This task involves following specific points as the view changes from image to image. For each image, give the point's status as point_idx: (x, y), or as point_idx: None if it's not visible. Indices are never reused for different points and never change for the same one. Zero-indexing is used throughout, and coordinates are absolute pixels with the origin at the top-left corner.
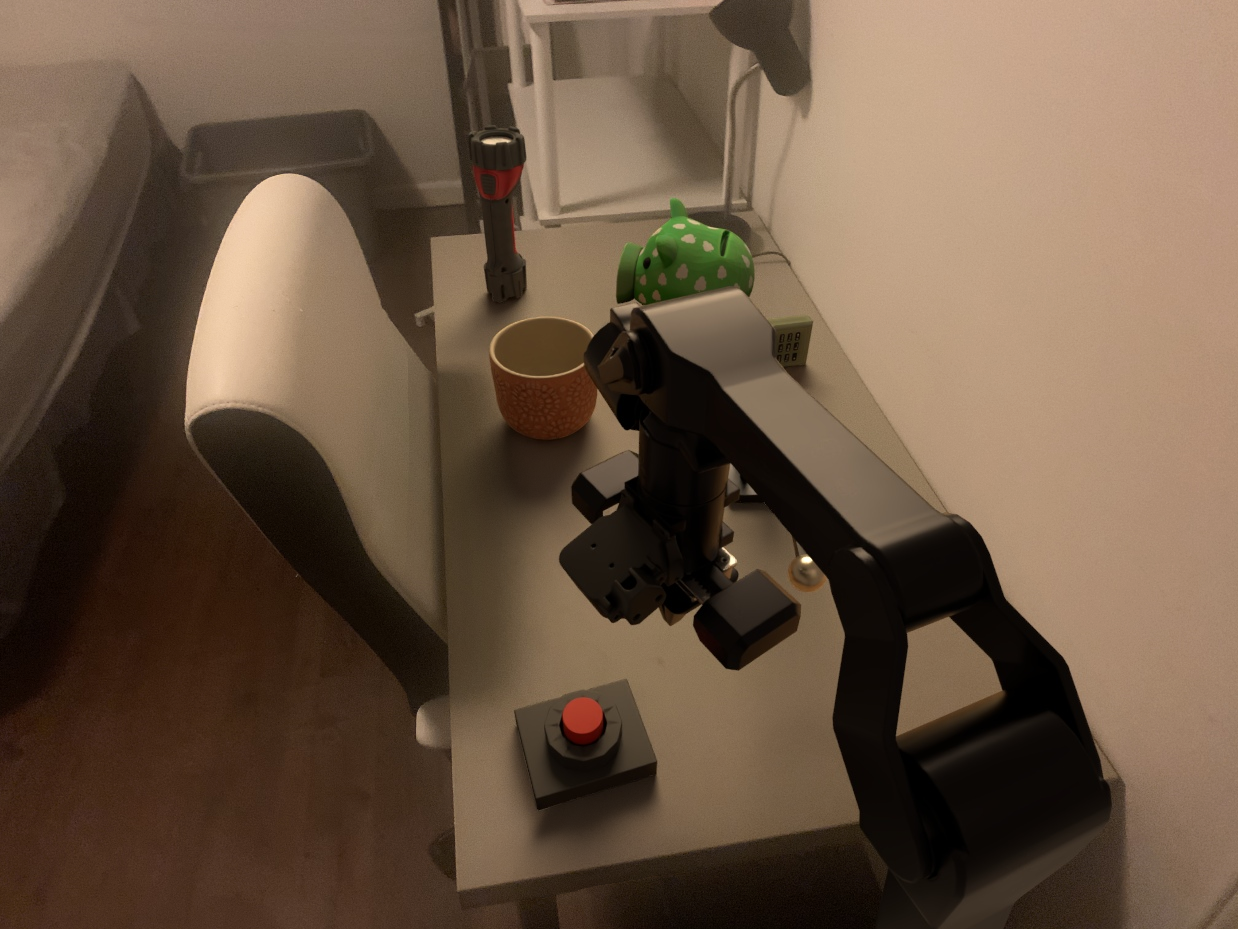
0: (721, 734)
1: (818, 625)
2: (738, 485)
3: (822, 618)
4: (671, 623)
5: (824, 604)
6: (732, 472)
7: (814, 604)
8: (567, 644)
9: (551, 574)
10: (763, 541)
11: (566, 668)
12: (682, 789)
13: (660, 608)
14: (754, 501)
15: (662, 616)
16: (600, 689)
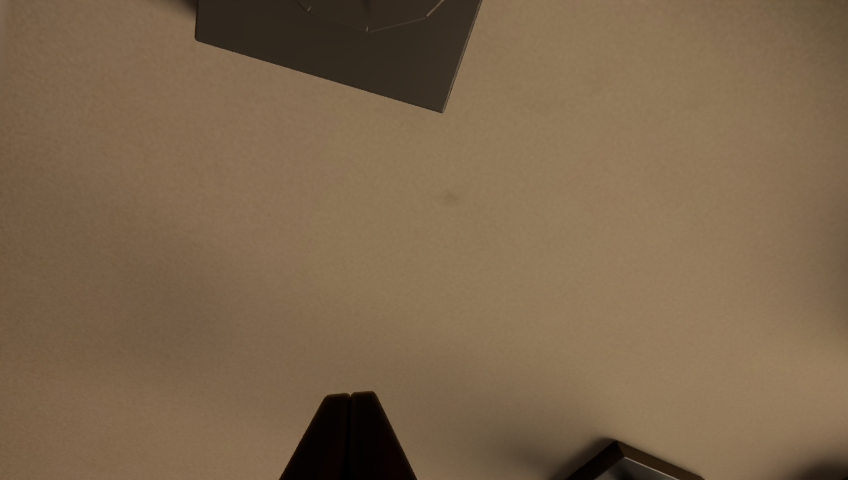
0: (241, 204)
1: None
2: (626, 473)
3: None
4: (309, 428)
5: None
6: (650, 477)
7: None
8: (624, 49)
9: (783, 125)
10: (522, 442)
11: (577, 7)
12: (154, 60)
13: (380, 465)
14: (586, 467)
15: (374, 409)
16: (458, 35)
